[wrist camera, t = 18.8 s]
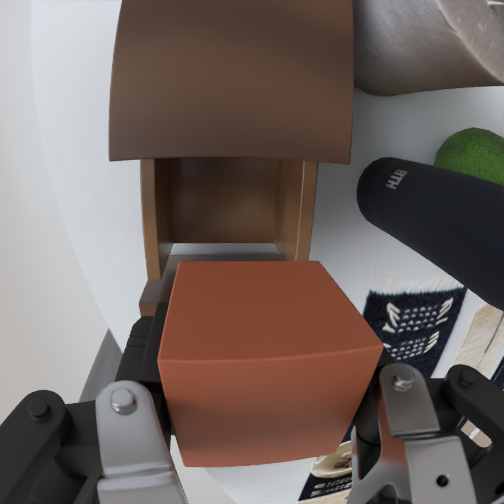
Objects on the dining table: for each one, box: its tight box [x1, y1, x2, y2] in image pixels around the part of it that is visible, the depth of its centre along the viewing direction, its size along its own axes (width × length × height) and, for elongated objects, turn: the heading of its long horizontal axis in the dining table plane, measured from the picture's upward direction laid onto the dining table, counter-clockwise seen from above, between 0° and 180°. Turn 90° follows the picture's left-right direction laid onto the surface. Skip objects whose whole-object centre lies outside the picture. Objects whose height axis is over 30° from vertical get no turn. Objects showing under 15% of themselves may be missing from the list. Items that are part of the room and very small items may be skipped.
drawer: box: [139, 157, 318, 317], centre depth 19 cm, size 17×10×7 cm, turn 178°
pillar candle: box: [352, 0, 504, 96], centre depth 12 cm, size 10×10×15 cm
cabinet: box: [109, 0, 354, 165], centre depth 14 cm, size 14×12×9 cm
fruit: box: [434, 128, 504, 185], centre depth 18 cm, size 8×8×12 cm
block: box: [157, 261, 384, 467], centre depth 8 cm, size 4×4×4 cm
